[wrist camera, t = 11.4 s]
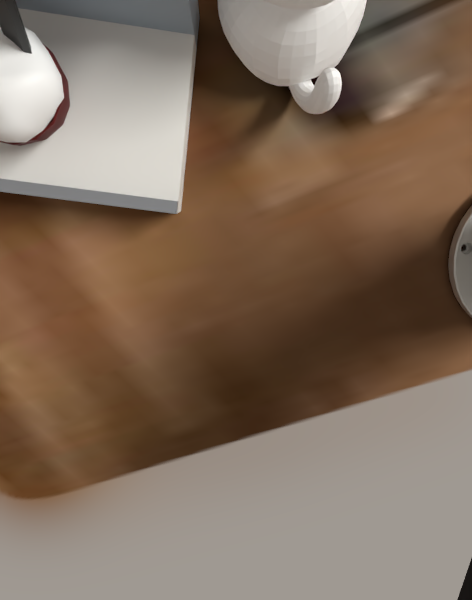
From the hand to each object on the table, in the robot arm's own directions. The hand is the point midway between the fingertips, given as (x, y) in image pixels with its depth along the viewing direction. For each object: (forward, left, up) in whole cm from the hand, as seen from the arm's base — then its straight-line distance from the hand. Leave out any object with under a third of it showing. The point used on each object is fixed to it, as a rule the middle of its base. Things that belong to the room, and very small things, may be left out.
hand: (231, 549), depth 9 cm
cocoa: (+13, -11, -24) cm, 30 cm away
